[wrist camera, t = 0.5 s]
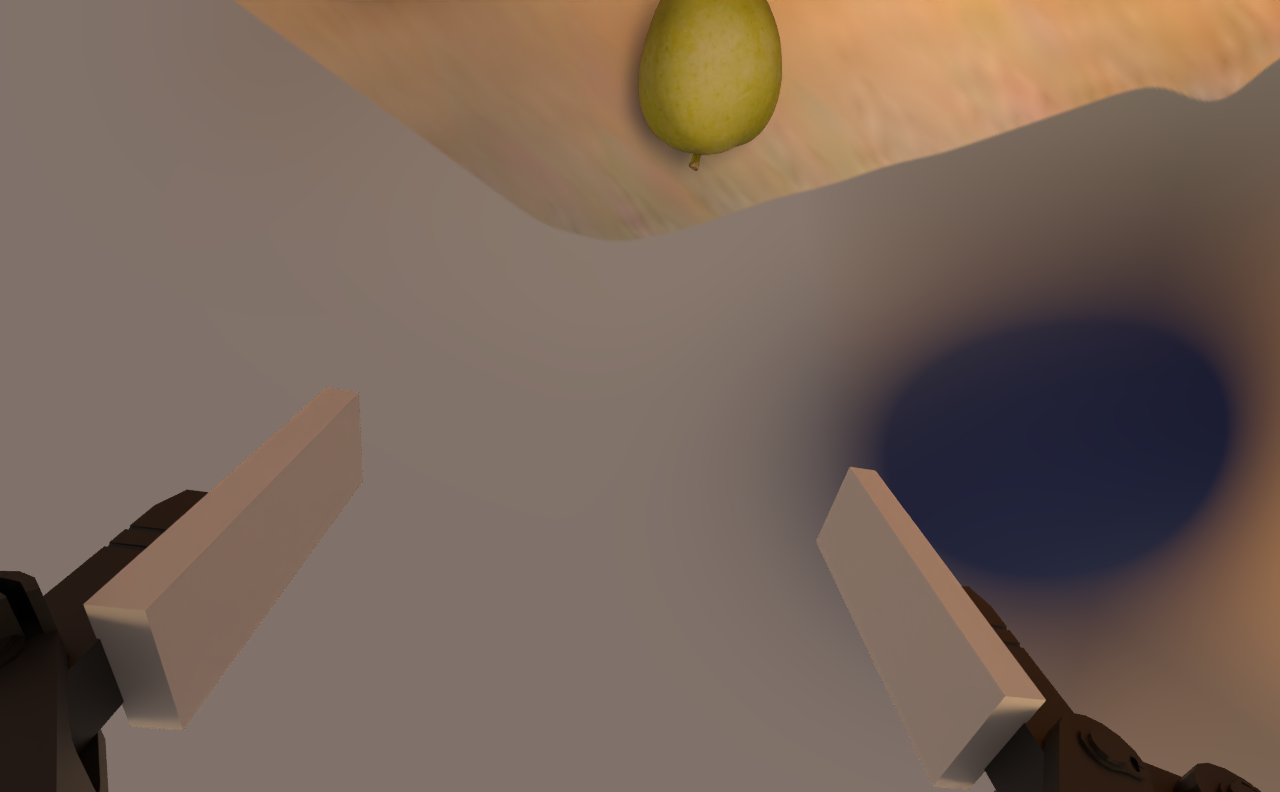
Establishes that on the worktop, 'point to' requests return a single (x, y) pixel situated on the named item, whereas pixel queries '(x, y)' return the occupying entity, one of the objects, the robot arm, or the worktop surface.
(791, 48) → the worktop surface
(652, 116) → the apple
